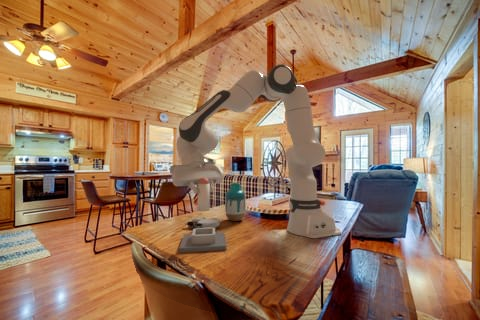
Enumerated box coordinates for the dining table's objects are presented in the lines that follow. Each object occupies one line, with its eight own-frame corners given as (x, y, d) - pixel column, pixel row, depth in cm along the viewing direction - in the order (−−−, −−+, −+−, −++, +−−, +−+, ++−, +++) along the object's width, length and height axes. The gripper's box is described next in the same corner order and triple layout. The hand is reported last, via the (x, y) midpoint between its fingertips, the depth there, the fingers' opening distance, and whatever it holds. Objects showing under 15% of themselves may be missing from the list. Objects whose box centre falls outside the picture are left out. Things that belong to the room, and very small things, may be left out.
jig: (224, 235, 87) (224, 224, 87) (226, 250, 73) (226, 237, 73) (184, 237, 85) (184, 226, 85) (179, 252, 71) (179, 239, 71)
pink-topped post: (209, 208, 81) (209, 176, 81) (209, 211, 77) (209, 177, 77) (198, 208, 80) (198, 177, 80) (197, 211, 76) (197, 178, 76)
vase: (224, 223, 103) (224, 184, 103) (225, 217, 114) (225, 182, 114) (246, 223, 103) (245, 184, 103) (245, 217, 114) (245, 182, 114)
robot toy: (182, 230, 96) (204, 235, 87) (182, 220, 97) (203, 224, 87) (203, 223, 106) (224, 227, 96) (202, 214, 106) (224, 217, 97)
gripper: (170, 159, 78) (179, 188, 70) (218, 159, 90) (230, 184, 82) (166, 171, 82) (174, 200, 74) (213, 169, 94) (224, 194, 86)
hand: (204, 191), depth 78 cm, fingers closed on pink-topped post, 4 cm apart
